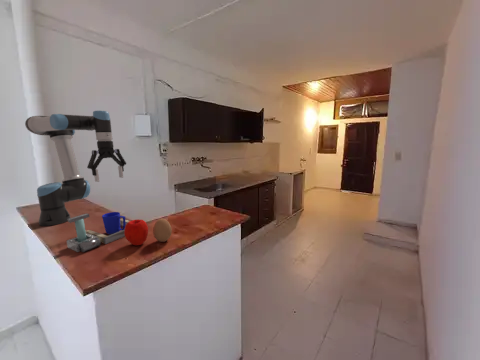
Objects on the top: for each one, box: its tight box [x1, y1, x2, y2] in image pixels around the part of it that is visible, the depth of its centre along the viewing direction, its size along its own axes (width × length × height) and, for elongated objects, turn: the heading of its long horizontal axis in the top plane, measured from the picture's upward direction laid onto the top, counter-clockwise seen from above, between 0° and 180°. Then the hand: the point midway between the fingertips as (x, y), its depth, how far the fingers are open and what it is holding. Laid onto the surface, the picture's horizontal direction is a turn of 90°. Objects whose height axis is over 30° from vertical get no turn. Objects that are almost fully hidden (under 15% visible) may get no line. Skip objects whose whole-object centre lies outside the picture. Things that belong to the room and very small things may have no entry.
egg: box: [152, 217, 173, 243], centre depth 109 cm, size 8×8×11 cm
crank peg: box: [67, 213, 90, 242], centre depth 105 cm, size 3×8×13 cm, turn 152°
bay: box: [85, 218, 130, 245], centre depth 121 cm, size 18×20×3 cm
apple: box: [124, 218, 149, 246], centre depth 106 cm, size 10×10×12 cm
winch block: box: [66, 233, 102, 253], centre depth 106 cm, size 13×9×4 cm
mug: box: [101, 211, 126, 235], centre depth 121 cm, size 8×12×10 cm
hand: (109, 179), depth 128 cm, fingers open, 13 cm apart
